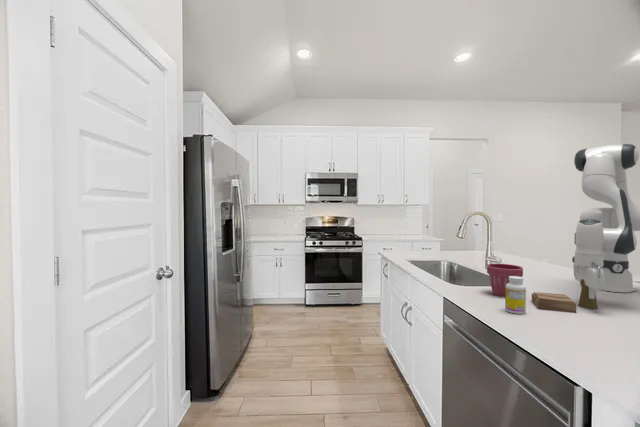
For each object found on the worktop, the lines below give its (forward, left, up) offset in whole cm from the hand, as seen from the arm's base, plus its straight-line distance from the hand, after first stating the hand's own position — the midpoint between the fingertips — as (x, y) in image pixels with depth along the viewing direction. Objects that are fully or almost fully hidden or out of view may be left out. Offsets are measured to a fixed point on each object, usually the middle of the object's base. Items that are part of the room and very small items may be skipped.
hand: (588, 296), depth 136 cm
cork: (0, 0, -4) cm, 4 cm away
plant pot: (-9, -28, -4) cm, 30 cm away
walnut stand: (+5, -13, -4) cm, 15 cm away
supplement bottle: (+18, -28, -4) cm, 34 cm away
